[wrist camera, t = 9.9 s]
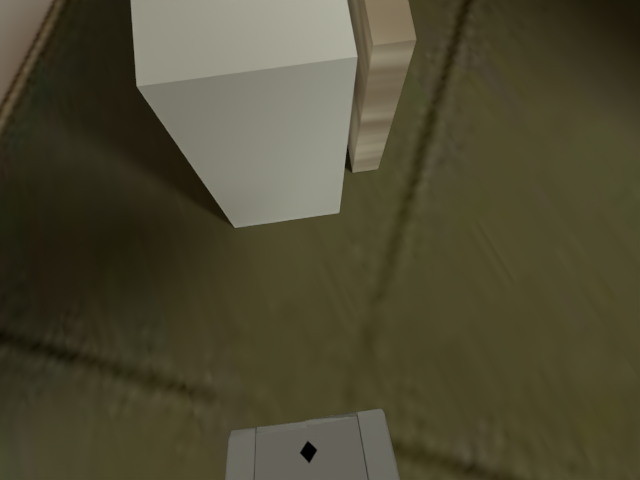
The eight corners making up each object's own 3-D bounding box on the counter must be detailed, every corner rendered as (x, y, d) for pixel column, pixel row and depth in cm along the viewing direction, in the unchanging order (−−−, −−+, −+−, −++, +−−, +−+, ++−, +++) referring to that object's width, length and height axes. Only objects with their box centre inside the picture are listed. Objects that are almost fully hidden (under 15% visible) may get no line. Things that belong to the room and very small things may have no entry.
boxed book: (339, 212, 28) (357, 56, 13) (234, 227, 28) (136, 86, 13) (313, 58, 30) (305, -221, 16) (217, 71, 30) (116, -199, 15)
